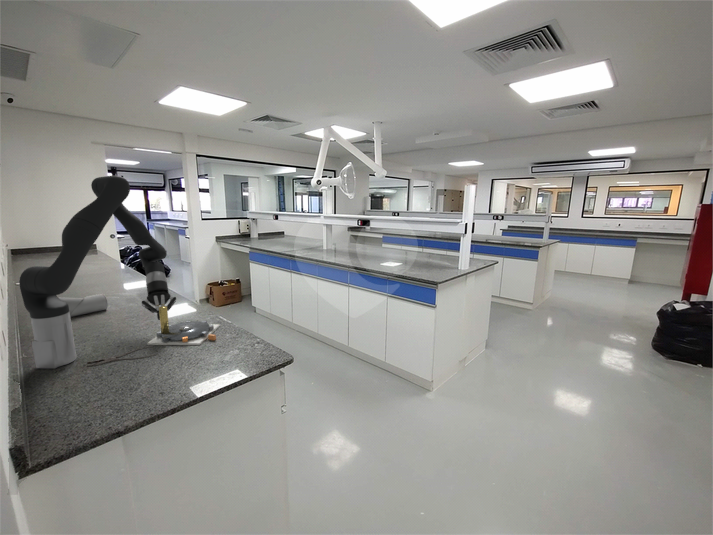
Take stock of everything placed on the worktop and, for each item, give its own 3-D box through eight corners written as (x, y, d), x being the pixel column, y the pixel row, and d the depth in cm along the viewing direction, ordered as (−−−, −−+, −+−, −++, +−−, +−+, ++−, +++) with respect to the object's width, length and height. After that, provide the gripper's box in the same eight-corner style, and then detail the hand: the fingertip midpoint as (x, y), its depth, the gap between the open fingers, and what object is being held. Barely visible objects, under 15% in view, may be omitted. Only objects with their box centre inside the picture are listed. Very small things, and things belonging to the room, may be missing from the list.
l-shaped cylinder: (57, 320, 138) (110, 309, 155) (51, 297, 137) (105, 288, 154) (45, 320, 147) (97, 310, 164) (40, 299, 147) (92, 290, 163)
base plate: (210, 345, 120) (209, 340, 120) (147, 344, 119) (146, 339, 119) (229, 326, 140) (228, 322, 139) (175, 325, 139) (174, 321, 138)
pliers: (161, 352, 112) (91, 372, 97) (161, 354, 113) (91, 375, 98) (152, 344, 119) (85, 362, 103) (152, 346, 119) (85, 364, 104)
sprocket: (214, 337, 125) (212, 308, 122) (153, 346, 115) (150, 315, 113) (212, 320, 143) (211, 295, 141) (160, 327, 134) (157, 299, 131)
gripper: (137, 281, 125) (142, 318, 118) (174, 278, 133) (181, 312, 126) (138, 290, 130) (142, 327, 123) (174, 287, 138) (180, 320, 131)
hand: (162, 319), depth 125 cm, fingers closed
